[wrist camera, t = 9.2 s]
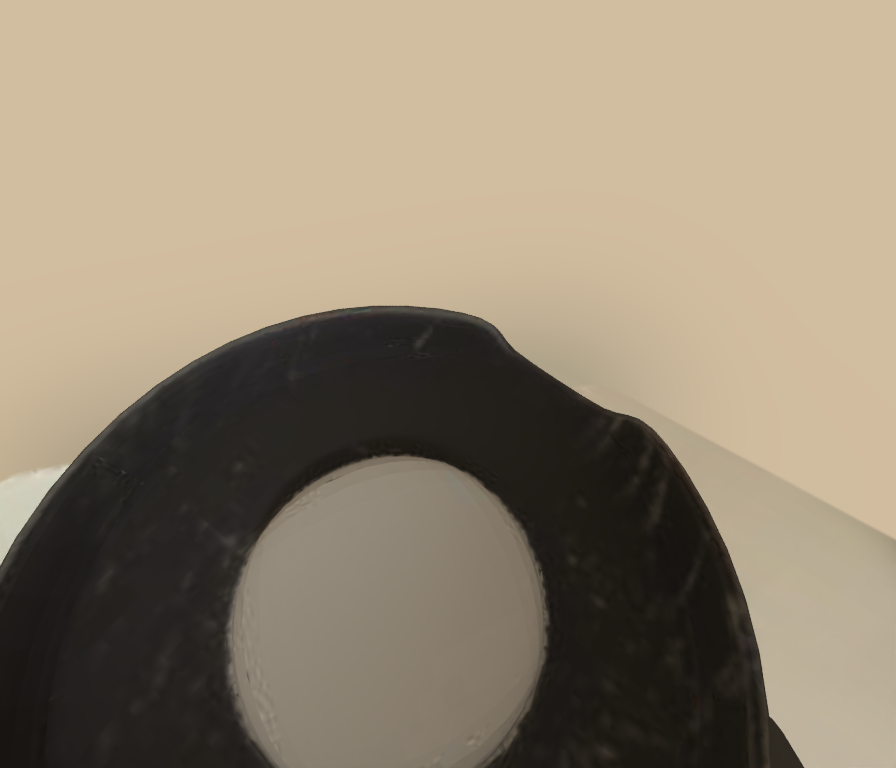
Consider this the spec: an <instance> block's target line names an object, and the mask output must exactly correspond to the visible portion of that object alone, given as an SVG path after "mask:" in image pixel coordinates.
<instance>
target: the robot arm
mask: <svg viewBox="0 0 896 768" xmlns="http://www.w3.org/2000/svg"><path fill="white" fill-rule="evenodd" d="M769 731H770V752H771V768H804V767H803V765H802V763H801V762H800V760H799V758H798V757H797V755H796V753H795V752H794V750H793V748H792V747H791V745H790V743H789V742H788V740H787V739H786V737H785V735H784V734H783V732H782V731H781V729H780V728H779V727H778V726H777V724H776V723H775V722H774V720H773V719H772V718H770V717H769Z"/></svg>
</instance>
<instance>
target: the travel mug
mask: <svg viewBox="0 0 896 768" xmlns="http://www.w3.org/2000/svg"><path fill="white" fill-rule="evenodd" d="M0 768H771V752H770V731H769V712H768V705H767V699H766V692H765V686H764V679H763V673H762V666H761V659H760V653H759V649H758V645H757V641H756V637H755V633H754V630H753V626H752V622H751V618H750V614H749V610H748V606H747V602H746V599H745V596H744V593H743V590H742V588H741V585H740V582H739V579H738V577H737V574H736V571H735V569H734V566H733V563H732V560H731V558H730V555H729V552H728V550H727V547H726V545H725V543H724V541H723V539H722V537H721V535H720V533H719V531H718V529H717V527H716V525H715V523H714V520H713V518H712V516H711V514H710V512H709V510H708V508H707V506H706V504H705V503H704V501H703V499H702V498H701V496H700V494H699V492H698V491H697V489H696V487H695V486H694V484H693V482H692V481H691V479H690V477H689V476H688V474H687V472H686V471H685V469H684V468H683V466H682V465H681V464H680V462H679V461H678V459H677V458H676V457H675V455H674V454H673V452H672V451H671V449H670V448H669V447H668V445H667V444H666V443H665V442H664V441H663V440H662V439H661V437H660V436H659V435H658V434H657V433H656V432H655V431H654V430H653V429H652V428H651V427H650V426H648V425H647V424H646V423H644V422H643V421H641V420H640V419H638V418H635V417H632V416H629V415H625V414H620V413H616V412H613V411H610V410H607V409H604V408H602V407H601V406H599V405H597V404H596V403H594V402H592V401H590V400H589V399H587V398H585V397H583V396H582V395H580V394H579V393H577V392H576V391H574V390H572V389H571V388H569V387H568V386H566V385H565V384H563V383H561V382H560V381H558V380H557V379H555V378H554V377H552V376H551V375H549V374H548V373H546V372H545V371H543V370H542V369H540V368H539V367H537V366H536V365H534V364H533V363H532V362H530V361H529V360H527V359H526V358H525V357H523V356H522V355H520V354H519V353H518V352H517V351H515V350H514V349H513V347H512V346H511V345H510V344H509V343H508V342H507V341H506V339H505V338H504V337H503V335H502V334H501V333H500V331H499V330H498V329H497V328H496V327H495V326H494V325H492V324H491V323H489V322H487V321H485V320H483V319H481V318H479V317H475V316H472V315H468V314H465V313H460V312H455V311H449V310H443V309H437V308H425V307H414V306H367V307H356V308H347V309H337V310H332V311H327V312H322V313H316V314H311V315H306V316H302V317H299V318H295V319H292V320H288V321H285V322H281V323H278V324H275V325H271V326H268V327H265V328H263V329H260V330H258V331H255V332H253V333H251V334H248V335H245V336H243V337H241V338H238V339H236V340H233V341H231V342H229V343H227V344H225V345H223V346H221V347H219V348H217V349H215V350H213V351H211V352H210V353H208V354H206V355H204V356H202V357H200V358H198V359H196V360H194V361H193V362H191V363H190V364H188V365H187V366H185V367H183V368H182V369H180V370H179V371H177V372H176V373H174V374H173V375H171V376H170V377H168V378H167V379H165V380H164V381H162V382H161V383H159V384H157V385H156V386H155V387H154V388H152V389H151V390H150V391H148V392H147V393H146V394H145V395H144V396H142V397H141V398H140V399H139V400H137V401H136V402H135V403H133V404H132V405H131V406H130V407H128V408H127V409H126V410H125V411H123V412H122V413H121V414H120V415H119V416H118V417H117V418H116V419H115V420H113V421H112V422H111V423H110V424H109V425H108V426H107V427H106V428H105V429H104V430H103V431H102V432H101V433H100V434H99V435H98V436H97V437H96V438H95V439H94V440H93V441H92V442H91V443H90V444H89V445H88V446H87V447H86V448H85V449H84V450H83V451H82V452H81V453H80V454H79V455H78V457H77V458H76V459H75V460H74V461H73V463H72V464H71V465H70V466H69V467H68V468H67V470H66V471H65V472H64V473H63V474H62V475H61V477H60V478H59V479H58V480H57V481H56V483H55V484H54V485H53V486H52V487H51V488H50V490H49V491H48V492H47V494H46V495H45V497H44V498H43V500H42V501H41V502H40V504H39V505H38V507H37V508H36V510H35V511H34V512H33V514H32V515H31V517H30V518H29V520H28V521H27V523H26V524H25V525H24V527H23V528H22V530H21V531H20V533H19V534H18V536H17V537H16V538H15V540H14V542H13V544H12V546H11V547H10V549H9V551H8V553H7V555H6V556H5V558H4V560H3V562H2V564H1V565H0Z"/></svg>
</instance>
